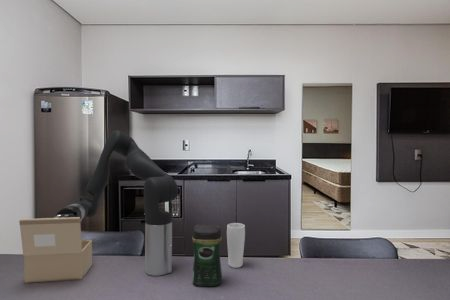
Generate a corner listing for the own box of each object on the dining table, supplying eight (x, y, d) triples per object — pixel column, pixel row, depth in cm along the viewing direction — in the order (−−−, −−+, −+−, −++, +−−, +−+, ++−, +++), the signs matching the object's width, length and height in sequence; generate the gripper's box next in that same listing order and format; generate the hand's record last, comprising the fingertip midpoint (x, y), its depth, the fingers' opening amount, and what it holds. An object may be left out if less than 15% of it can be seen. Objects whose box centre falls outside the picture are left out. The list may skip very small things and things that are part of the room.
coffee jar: (222, 276, 96) (222, 222, 96) (221, 288, 89) (221, 228, 88) (193, 275, 97) (194, 221, 97) (190, 287, 89) (190, 228, 89)
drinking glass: (243, 270, 102) (243, 228, 101) (224, 268, 103) (225, 227, 103) (245, 262, 108) (246, 223, 108) (228, 261, 110) (228, 222, 109)
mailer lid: (80, 217, 91) (79, 218, 90) (82, 251, 93) (81, 252, 93) (20, 219, 88) (19, 220, 87) (24, 254, 90) (23, 256, 90)
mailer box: (92, 264, 105) (92, 240, 105) (81, 279, 93) (81, 252, 93) (41, 267, 102) (41, 242, 102) (24, 283, 90) (24, 255, 90)
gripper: (52, 205, 106) (28, 216, 89) (90, 204, 108) (74, 215, 91) (52, 225, 106) (28, 240, 89) (89, 224, 108) (73, 238, 91)
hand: (51, 227), depth 90 cm, fingers closed
